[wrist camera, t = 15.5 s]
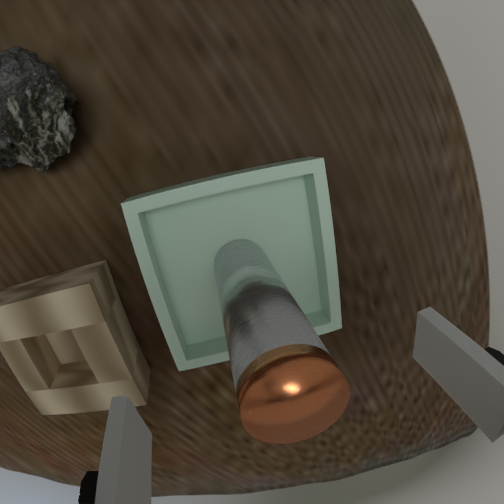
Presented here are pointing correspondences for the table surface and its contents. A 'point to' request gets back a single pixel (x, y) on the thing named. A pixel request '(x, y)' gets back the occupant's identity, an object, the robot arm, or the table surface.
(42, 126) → the rock
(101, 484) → the robot arm
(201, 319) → the tray
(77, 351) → the block
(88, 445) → the table surface
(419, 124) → the table surface
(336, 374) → the pin
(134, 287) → the table surface
